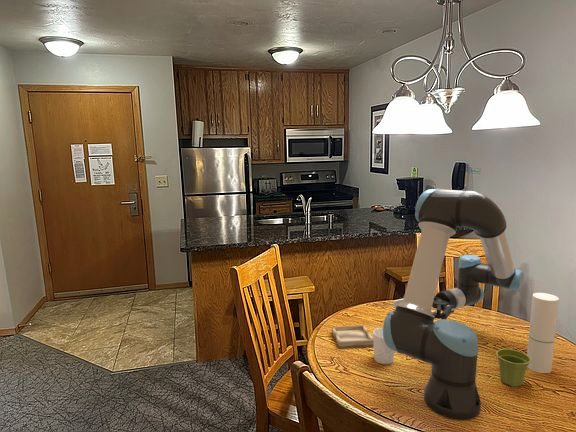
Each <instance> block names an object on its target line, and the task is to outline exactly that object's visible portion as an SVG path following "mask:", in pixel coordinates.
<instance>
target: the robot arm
mask: <svg viewBox="0 0 576 432" xmlns="http://www.w3.org/2000/svg"><path fill="white" fill-rule="evenodd" d="M416 201H417V202H416V204H415V209H414V210H415V213H414V216H415V219H416V221H417V222H418V224H417V225H418V227H419V229H420V230H421V233H420V237H419V240H418V244H417V248H416V251H415V255H414V258H413V262H412V265H411V268H410V269H411V270H410V274H409V276H408V280H407V281H408V282H407V285H406V288H405V293H404V294H403V295H402V296H403V298H399V299H395V300H393V304H392V308H393V309H394V310H391V311H388V313H387V314H386V316H385V318H384V320H383V327H382V328H383V337H384V341H385V343H386V345H387V346H388V347H389V348H390V349H392V350H394V351H395V352H397V353H398V354H401V355H405V356H407V357H410V358H413V359H415V360H418V361H422V362H424V363H427V364H430V365H431V375H430V377H429V379H428V381H427V383H426V386H425V388H424V391H423V400H424V403H425V405H426V406H427V407H428V408H429V409H430V410H431V411H432V412H434V413H435V414H437V415H439V416H441V417H444V418H447V419H449V420H450V419H451V420H455V421H469V420H472V419H475V418H477V417H478V416H479V415H480V413H481V408H482V402H481V397H480V395H479V391H478V387H477V383H476V380H477V377H476V376H477V366H478V353H479V347H478V346H479V343H478V342H479V338H478V335H477V333H476V332H475V331H474V330H473V329H472V328H471V327H470V326H468V325H466V324H465V323H462V322H460V321H457V320H453V319H448V317H450V315H451V314H453V313H455V310H457V309H460V308H463V307H467V306H471V305H472V306H473V305H476V304H478V303H480V302H482V301H483V300H484V297H485V291H484V288H483V287H482V286H481V285H480V284H484V285H488V286H492V287H493V286H494V287H497V288H503V289H507V290H514V291H520V290H521V289H522V287H523V284H524V280H525V279H524V278H525V274H524V271H523V270H521V269H518V268H515V266H514V263H513V259H512V255H511V250H510V246H509V242H508V239H507V235H506V230H507V228H508V227H507V226H508V225H507V221H506V216H505V215H504V213H503V211H502V210H501V209H500V208H499V206H498V204H496V203H495V202H494V201H493V200H492V199H491V198H489V197H488V196H486V195H485V194H482V193H480V192H478V191H473V190H459V189H458V190H457V189H443V188H434V189H432V188H430V189H427V190H425V191H423V192H422V193H421V195H419V197H418V200H416ZM458 228H461V229H462V228H463V229H464V228H466V229H470V230H473V233H474V234H475V235H476V236H477V237H479V239H480V243H481V245H482V248H483V252H484V255H485V258H486V261H487V263H483V262H482V261H481V258H480V257H479V256H476V255H473V254H464V255H462V256H460V257H459V260H458V261H459V262H458V266H457V268H458V271H457V287H453V288H449V289H446V290H441V291H438V292H437V293H436V291H437V287H438V285H439V280H440V275H441V272H442V268H443V264H444V260H445V256H446V251H447V248H448V243H449V240H450V238H452V237H453V236H454V235H456V233H457V229H458ZM432 308H433V309H435V310H432ZM436 319H437V320H436ZM435 320H436V321H435Z"/></svg>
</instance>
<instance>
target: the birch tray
mask: <svg viewBox="0 0 576 432" xmlns="http://www.w3.org/2000/svg"><path fill="white" fill-rule="evenodd" d="M331 333H332V336H333V338H334V340H335V342H336V345H337V346H338V348H339V350H344V349H358V348H369V347H370V348H371V347H373V335H371V333H370V332H369V330H368V329H367V327H366V325H365V324H361V325H360V324H359V325H357V324H356V325H343V326H341V325H339V326H331Z"/></svg>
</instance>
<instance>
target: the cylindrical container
mask: <svg viewBox="0 0 576 432" xmlns="http://www.w3.org/2000/svg"><path fill="white" fill-rule="evenodd" d="M531 298H532V299H531V307H530V308H531V309H530V319H529V320H530V321H529V331H528V342H527V351H526V353H527V354H526V355H528V356H529V357H530V359H531V362H530V363H529V364H528V366H527V367H528V368H529V369H528V368H527V369H528V370H530V369H531V370H533V371H532V372H534V371H536V372H540V373H549V374H551V373H552V371H551V370H553V369H552V368H553V359H554V350H555V340H556V331H557V322H558V313H559V312H558V311H559V301H560V299H559V297H558V296H556V295H554V294H550V293H546V292H534V293H533V294H532V297H531ZM531 370H530V371H531ZM536 372H535V373H536ZM550 372H551V373H550ZM540 373H539V374H540Z"/></svg>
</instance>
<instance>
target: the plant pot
mask: <svg viewBox="0 0 576 432" xmlns="http://www.w3.org/2000/svg"><path fill="white" fill-rule="evenodd" d="M495 353H496V357H497V360H498V366H499V378H500V381H501V382H502V383H503V384H505V385H509V386H510V387H516V388H517V387H521V386H522V385H523V384H524V379H525V377H526V376H525V375H526V371H527V369H528V368H527V366H528V364H529V363H530V362H531V359H530V357H529V356H528V355H527V354H526V353H524V352H522V351H519V350H516V349H511V348H501V349H498V350H497V351H496V352H495Z"/></svg>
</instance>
